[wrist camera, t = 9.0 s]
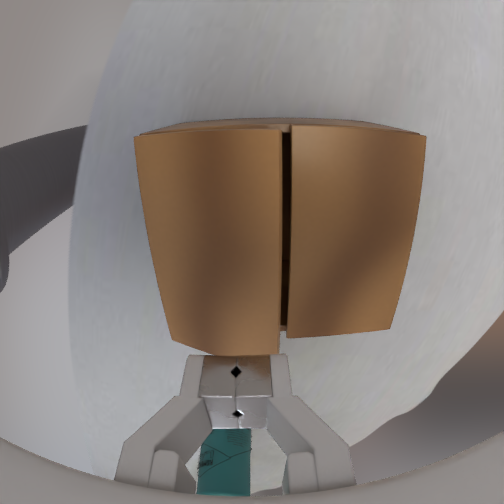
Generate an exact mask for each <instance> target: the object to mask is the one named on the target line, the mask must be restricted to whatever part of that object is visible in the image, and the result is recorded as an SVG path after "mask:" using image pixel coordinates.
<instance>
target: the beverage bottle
mask: <svg viewBox="0 0 504 504" xmlns="http://www.w3.org/2000/svg"><path fill="white" fill-rule="evenodd" d="M251 442H252V441H251V429H246V428H234V429H212V431H211V433H210V434H209V435H208V437H207V438H206V439H205V440H204V442H203V443H202V444H201V448H200V449H201V453H200V458H199V459H200V462H198V463H199V467H198V468H197V470H198V469H199V471H198V472H197V473H198V484H197V493H196V494H199V495H214V496H250V453H251V450H252V448H251ZM199 452H200V451H199ZM199 459H198V460H199Z"/></svg>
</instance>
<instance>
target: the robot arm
mask: <svg viewBox="0 0 504 504" xmlns="http://www.w3.org/2000/svg"><path fill="white" fill-rule="evenodd" d="M234 428H246V429H262V428H267V430H268V432H269V433H270V435H271V436H272V437H273V438H274V440H275V441H276V442H277V444H278V445H279V446H280V448H281V449H282V450H283V452H284V453H285V454H286V455H287V461H286V466H285V471H284V476H283V481H282V488H283V495H277V496H214V495H199V494H195V491H196V481H195V480H194V478H193V477H192V475H191V474H190V472H189V471H188V469H187V468H186V466H185V464H186V463H187V462H188V461H189V459H190V458H191V457H192V456H193V454H194V453H195V452H196V451H197V449H198V448H199V447H200V446H201V444H202V443H203V442H204V440H205V439H206V438H207V437H208V435H209V434H210V433H211V431H212V429H234ZM0 504H504V431H502V432H500V433H498V434H497V435H495V436H493V437H491V438H489V439H488V440H485V441H484V442H481V443H479V444H477V445H475V446H473V447H471V448H469V449H467V450H464V451H462V452H460V453H457V454H455V455H453V456H450V457H448V458H445V459H443V460H441V461H438V462H435V463H433V464H430V465H427V466H424V467H421V468H418V469H415V470H412V471H409V472H406V473H402V474H399V475H396V476H392V477H388V478H385V479H381V480H377V481H373V482H369V483H364V484H360V485H356V480H355V475H354V470H353V465H352V460H351V455H350V451H349V446H348V444H347V443H346V442H345V441H344V440H343V439H342V438H341V437H339V436H338V435H337V434H336V433H335V432H334V431H333V430H332V429H331V428H330V427H329V426H328V425H327V424H326V423H325V422H324V421H323V420H322V419H321V418H319V417H318V416H317V415H316V414H315V413H314V412H313V411H312V410H311V409H310V408H309V407H308V406H307V405H306V404H305V403H304V402H303V401H302V400H301V399H300V398H299V397H298V396H292V389H291V381H290V373H289V365H288V357H287V355H286V354H270V356H269V354H265V355H238V356H215V355H189V356H188V358H187V360H186V365H185V370H184V375H183V380H182V385H181V390H180V395H179V396H174V397H173V398H172V399H171V400H170V401H169V402H168V403H167V404H166V405H165V406H163V407H162V408H161V409H160V410H159V411H158V412H157V413H156V414H155V415H154V416H153V417H151V418H150V419H149V420H148V421H147V422H146V423H145V424H144V425H143V426H142V427H140V428H139V429H138V430H137V431H136V432H135V433H134V434H133V435H131V436H130V437H129V438H128V439H127V440H126V441H125V442H124V444H123V447H122V451H121V455H120V459H119V462H118V466H117V470H116V474H115V478H114V480H110V479H106V478H102V477H99V476H95V475H92V474H89V473H85V472H82V471H79V470H76V469H73V468H70V467H67V466H64V465H62V464H59V463H56V462H54V461H51V460H48V459H46V458H43V457H41V456H39V455H36V454H34V453H32V452H29V451H27V450H25V449H23V448H21V447H19V446H17V445H15V444H12V443H10V442H8V441H7V440H5V439H3V438H0Z"/></svg>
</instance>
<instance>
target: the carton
mask: <svg viewBox="0 0 504 504" xmlns="http://www.w3.org/2000/svg"><path fill="white" fill-rule="evenodd" d="M219 129H281V130H282V275H281V315H280V331H286V337H287V338H303V337H318V336H330V335H341V334H352V333H361V332H370V331H379V330H387V329H390V327H391V324H392V321H393V317H394V314H395V311H396V307H397V304H398V300H399V296H400V293H401V289H402V285H403V281H404V277H405V273H406V269H407V265H408V260H409V256H410V251H411V247H412V242H413V237H414V231H415V226H416V220H417V215H418V208H419V202H420V195H421V188H422V180H423V171H424V161H425V149H426V136H424V135H420V134H419V133H416V132H412V131H407V130H403V129H399V128H394V127H389V126H384V125H379V124H374V123H369V122H363V121H353V120H339V119H319V118H244V119H224V120H210V121H198V122H188V123H179V124H175V125H171V126H167V127H164V128H160V129H156V130H153V131H149V132H145V133H142V134H140V135H139V136H141V135H150V134H160V133H170V132H183V131H198V130H219Z"/></svg>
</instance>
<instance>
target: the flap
mask: <svg viewBox="0 0 504 504" xmlns="http://www.w3.org/2000/svg"><path fill="white" fill-rule="evenodd" d="M134 147H135V155H136V164H137V171H138V179H139V186H140V193H141V199H142V206H143V212H144V218H145V223H146V229H147V234H148V240H149V245H150V250H151V255H152V260H153V264H154V269H155V274H156V278H157V283H158V287H159V291H160V295H161V300H162V304H163V308H164V312H165V316H166V320H167V323H168V327H169V331H170V335H171V338H172V340H174V341H176V342H179V343H182V344H184V345H187V346H190V347H192V348H195V349H198V350H201V351H204V352H207V353H210V354H213V355H216V356H238V355H265V354H269V356H270V354H279V345H280V315H281V275H282V130H281V129H219V130H198V131H183V132H170V133H160V134H150V135H141V136H135V137H134Z"/></svg>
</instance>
